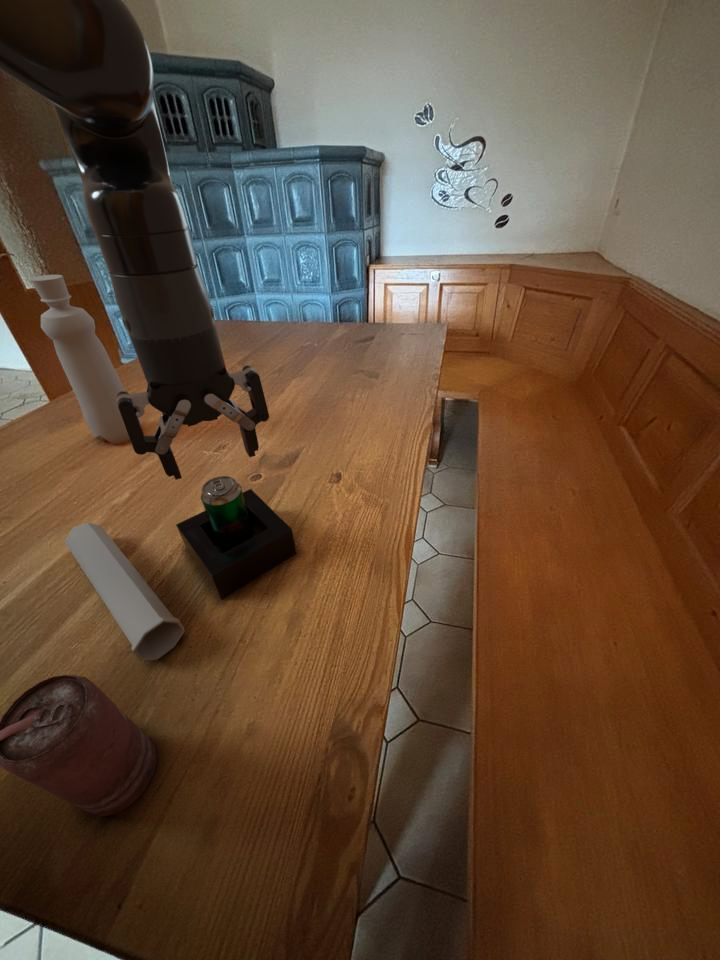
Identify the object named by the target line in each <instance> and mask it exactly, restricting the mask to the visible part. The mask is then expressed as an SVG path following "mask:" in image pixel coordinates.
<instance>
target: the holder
mask: <svg viewBox="0 0 720 960" xmlns="http://www.w3.org/2000/svg"><path fill="white" fill-rule="evenodd" d="M242 492H243V496H244V500H245V503H246V507H247V511H248V514H249V518H250V522H251V526H252V529H253V532H254V533H256V534H255V535H254V537H252V538H250V539H248V540H247V541H245V542H243V543H241V544H239V545H237V546H236V547H234V548H232V549H230V550H228V551H227V552H225V553H223V554H221V552H220V549H219V548H217V546H218V544H217V541H216V539H215V536H214V533H213V530H212V528H211V525H210V522H209V519H208V517H207V514H206V511H205V510H204V511H202V512H199V513H197V514H196V515H193V516H190V517H189V518H187V519H185V520H183V521H181V522H179V523H176V527H177V530H178V533H179V535H180V537H181V540H182V541H183V544H184V546H185V548H186V550H187V552H188V553H189V554H190V556H191V557H192V559H193V560H194V562H195V563H196V565H197V566H198V568H199V570H201V572H202V574H203V576H205V578H206V579H207V581H208V583H209V584H210V585H211V587H212V588H213V590H214V591H215V593H216V594H217V596H218V597H219V598H220V600H223V599H225V598H227V597H228V596H230V595H231V594H233V593H235V592H236V591H238V590H240V589H241V588H243V587H244V586H246V585H247V584H249V583H251V582H253V581H254V580H256V579H257V578H259V577H260V576H262V575H264V574H265V573H268V572H269V571H270V570H272V569H273V568H275V567H277V566H279V565H280V564H282V563H284V562H285V561H287V560H288V559H290V558H291V557H293V556H295V555H296V554H297V548H296V544H295V543H296V541H295V537H294V531H293V528H291V526H290V525H289V524H287V523H286V522H285V521H284V520H283V519H282V518H281V517H280V516H279V515H278V514H277V512H275V510H274V509H272V508H271V507H270V506H269V505H268V504H267V503H266V502H265V501H264V500H263V499H262V498H261V497H260V496H259V495H258V494H257V493H256V492H255V491H254V490H253V489H252V488H250V489H247V490H246V491H242Z"/></svg>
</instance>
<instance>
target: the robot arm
mask: <svg viewBox="0 0 720 960" xmlns="http://www.w3.org/2000/svg"><path fill="white" fill-rule="evenodd" d="M0 71H1V72H2V73H4V74H5V75H7V76H9V77H11V78H12V79H14V80H16V81H17V82H18V83H20V84H22V85H23V86H25V87H26V88H28V89H30V90H31V91H33V92H34V93H36V94H37V95H39V96H41V97H42V98H43V99H45V100H46V101H48V102H50V103H51V105H52V107H53V109H54V112H55V115H56V117H57V120H58V122H59V125H60V128H61V130H62V133H63V135H64V138H65V140H66V141H65V142H66V143H67V146H68V148H69V151H70V154H71V156H72V159H73V160H74V164H75V166H76V170H77V172H78V174H79V177H80V179H81V183H82V188H83V190H82V191H83V199H84V205H85V209H86V213H87V216H88V219H89V223H90V225H91V229H92V232H93V233H94V236H95V239H96V242H97V244H98V247H99V249H100V252H101V256H102V258H103V260H104V263H105V266H106V268H107V270H108V274H109V278H110V280H111V283H112V289H113V293H114V297H115V300H116V303H117V307H118V310H119V312H120V315H121V317H122V319H121V320H122V324H123V326H124V328H125V329H126V330H127V333H128V336H129V338H130V341H131V343H132V346H133V349H134V352H135V354H136V357H137V359H138V363H139V365H140V367H141V370H142V372H143V375H144V378H145V381H146V383H147V386H146V387H147V389H146V391H143V392H137V393H129V392H128V391H126V390H125V391H126V392H125V391H121V392H119V393H118V394H117V403H118V408H119V411H120V414H121V416H122V419H123V422H124V424H125V427H126V430H127V432H128V435H129V441H130V443H131V446H132V448H133V451H134V453H135V454H137V455H138V456H141V455H145V454H147V453H152V454H156V455H157V456H158V459H159V461H160V463H161V466H162V468H163V470H164V473H165V475H166V476H168V477H174V480H175V481H177V480H180V479H182V478H183V477H182V473H181V471H180V468H179V465H178V462H177V460H176V457H175V455H174V452H173V449H172V447H171V445H172V443H173V440H174V439H175V438H177V436H178V434H179V432H180V429H181V427H182V425H183V426H187V427H188V428H190V427H193V426H196V425H198V424H200V423H202V422H213V421H216V420H218V419H219V417H220V416H221V415H223V416H224V417H226V418H227V419H229V420H230V421H231V422H233V423H236V424H238V425H239V430H240V434H241V439H242V442H243V445H244V446H243V447H244V450H245V452H246V454H247V456H248V457H249V458H252V457H255V456H256V452H257V451H259V448H260V445H259V441H258V435H257V431H256V427H257V425H258V424H260V423H265V422H267V421H268V420H269V419H270V412H269V409H268V405H267V401H266V397H265V392H264V389H263V385H262V380H261V377H260V375H259V373H258V372H257V371H256V370H255V369H254V368H253V367H252V366H251V365H249V364H247V365H244V366H243V367H242V368H241V369H242V370H241V371H236V372H233V373H229V372H228V370H227V367H226V363H225V359H224V354H223V351H222V346H221V342H220V339H219V333H218V329H217V325H216V320H215V311H214V307H213V306H212V304H211V301H210V295H209V293H208V292H209V291H208V289H207V286H206V284H205V280H204V279H203V276H202V273H201V269H200V265H199V264H198V259H197V255H196V250H195V245H194V243H193V242H194V241H193V239H192V234H191V230H190V225H189V222H188V219H187V215H186V212H185V209H184V205H183V203H182V200H181V197H180V195H179V193H178V191H177V190H176V189H177V188H176V187H175V185H174V182H173V179H172V175H171V171H170V167H169V163H168V157H167V153H166V148H165V143H164V140H163V134H162V131H161V126H160V122H159V116H158V114H157V113H158V112H157V108H156V103H155V98H154V91H155V90H154V87H155V74H154V73H155V72H154V64H153V60H152V56H151V52H150V48H149V46H148V43H147V40H146V37H145V35H144V33H143V31H142V29H141V27H140V25H139V22H138V21H137V19H136V17H135V16H134V14H133V13H132V11H131V10H130V8H129V6H128V5H127V4H126V3H125V1H124V0H0ZM235 386H239V387H240V388H241V390H242V391H243V392H247V393H248V398H249V400H250V401H249V402H250V404H251V409H249V410H248V411H246V410H244V409H243V408H241V407H240V406H238V405H237V404H236V403H235V402H234V401H233V400H231V396H232V394H233V392H234V390H235ZM148 405H150V406H151V407H153V408H154V409H155V410H157V411H159V412H161V414H160V416H159V419H158V423H157V426H156V429H155V431H154V433H153V435H145V434H144V431H143V427H142V424H141V425H140V422H141V421H140V422H139V420H140V417H142V416H144V415H145V408H146V406H148ZM138 417H139V419H138Z"/></svg>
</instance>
